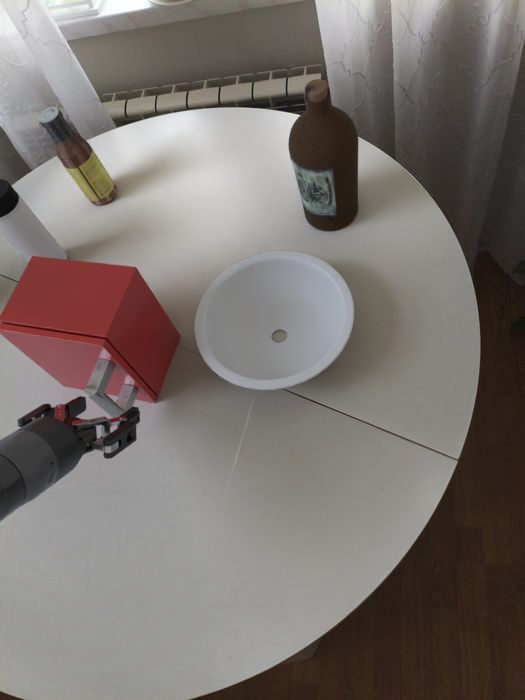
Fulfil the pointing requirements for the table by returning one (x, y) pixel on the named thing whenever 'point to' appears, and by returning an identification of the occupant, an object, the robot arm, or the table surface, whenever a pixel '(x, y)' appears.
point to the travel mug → (25, 227)
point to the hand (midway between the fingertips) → (109, 407)
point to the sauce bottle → (78, 158)
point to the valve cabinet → (97, 311)
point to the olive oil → (325, 160)
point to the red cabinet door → (82, 366)
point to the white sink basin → (274, 320)
